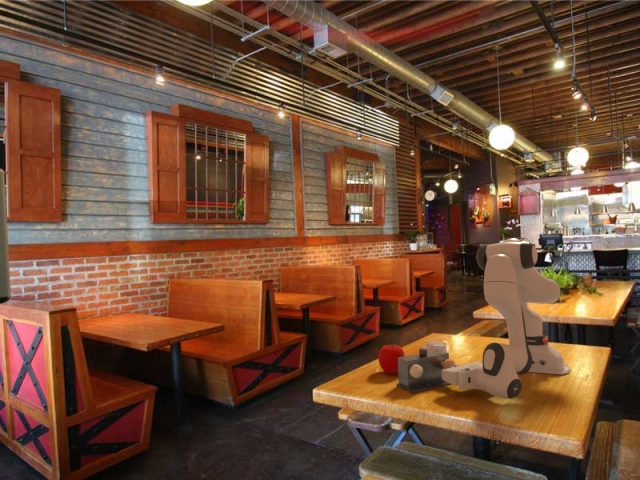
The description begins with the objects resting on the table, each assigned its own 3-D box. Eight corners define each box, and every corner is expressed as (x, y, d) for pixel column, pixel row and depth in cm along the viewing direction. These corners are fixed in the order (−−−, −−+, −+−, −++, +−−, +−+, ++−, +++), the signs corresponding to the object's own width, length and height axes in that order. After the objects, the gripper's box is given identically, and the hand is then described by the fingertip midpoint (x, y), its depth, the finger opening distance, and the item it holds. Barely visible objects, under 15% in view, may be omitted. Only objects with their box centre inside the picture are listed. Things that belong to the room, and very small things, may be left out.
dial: (428, 354, 175) (428, 345, 175) (425, 356, 172) (425, 347, 172) (421, 353, 177) (420, 345, 177) (418, 355, 174) (417, 346, 174)
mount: (458, 382, 173) (457, 354, 173) (413, 393, 163) (412, 364, 163) (441, 375, 182) (440, 349, 182) (396, 385, 172) (395, 358, 172)
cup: (448, 374, 183) (447, 346, 183) (426, 374, 185) (425, 346, 185) (446, 368, 192) (445, 341, 192) (425, 367, 194) (424, 340, 194)
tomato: (411, 374, 185) (410, 345, 185) (388, 379, 180) (387, 348, 180) (395, 367, 196) (394, 339, 196) (373, 371, 192) (372, 342, 192)
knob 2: (455, 371, 172) (455, 359, 172) (446, 374, 170) (446, 361, 170) (439, 366, 181) (439, 354, 181) (430, 368, 179) (429, 355, 178)
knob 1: (423, 377, 167) (422, 364, 167) (412, 379, 165) (412, 366, 165) (407, 371, 176) (407, 358, 176) (397, 373, 173) (397, 360, 173)
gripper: (498, 362, 164) (470, 354, 176) (457, 372, 154) (431, 363, 167) (498, 379, 164) (470, 370, 176) (458, 390, 154) (431, 379, 167)
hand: (451, 366), depth 171 cm, fingers closed, pressing on knob 2
